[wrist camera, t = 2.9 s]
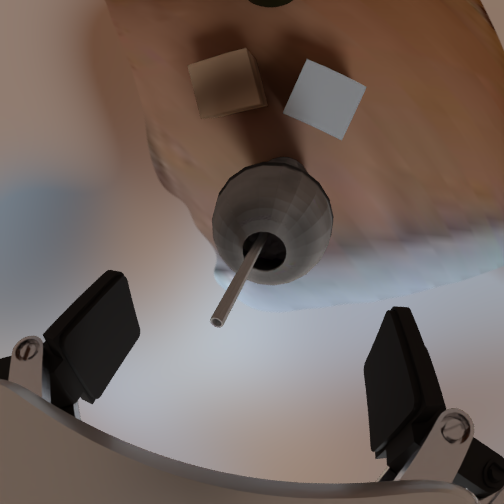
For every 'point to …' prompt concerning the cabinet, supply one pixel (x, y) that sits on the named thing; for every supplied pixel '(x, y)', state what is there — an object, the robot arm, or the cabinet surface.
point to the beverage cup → (269, 226)
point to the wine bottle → (270, 2)
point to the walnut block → (227, 84)
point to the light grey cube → (324, 99)
